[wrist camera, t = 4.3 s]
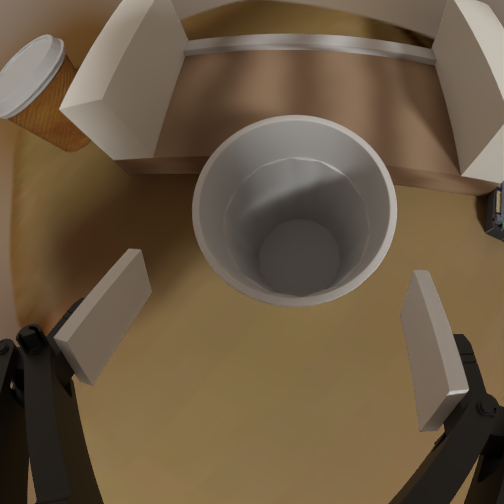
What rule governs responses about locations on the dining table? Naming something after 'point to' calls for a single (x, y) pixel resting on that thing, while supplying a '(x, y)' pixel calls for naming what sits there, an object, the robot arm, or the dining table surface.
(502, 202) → the disk drive
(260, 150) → the cup
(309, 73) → the board
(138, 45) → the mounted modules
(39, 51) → the disposable coffee cup
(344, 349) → the dining table surface
